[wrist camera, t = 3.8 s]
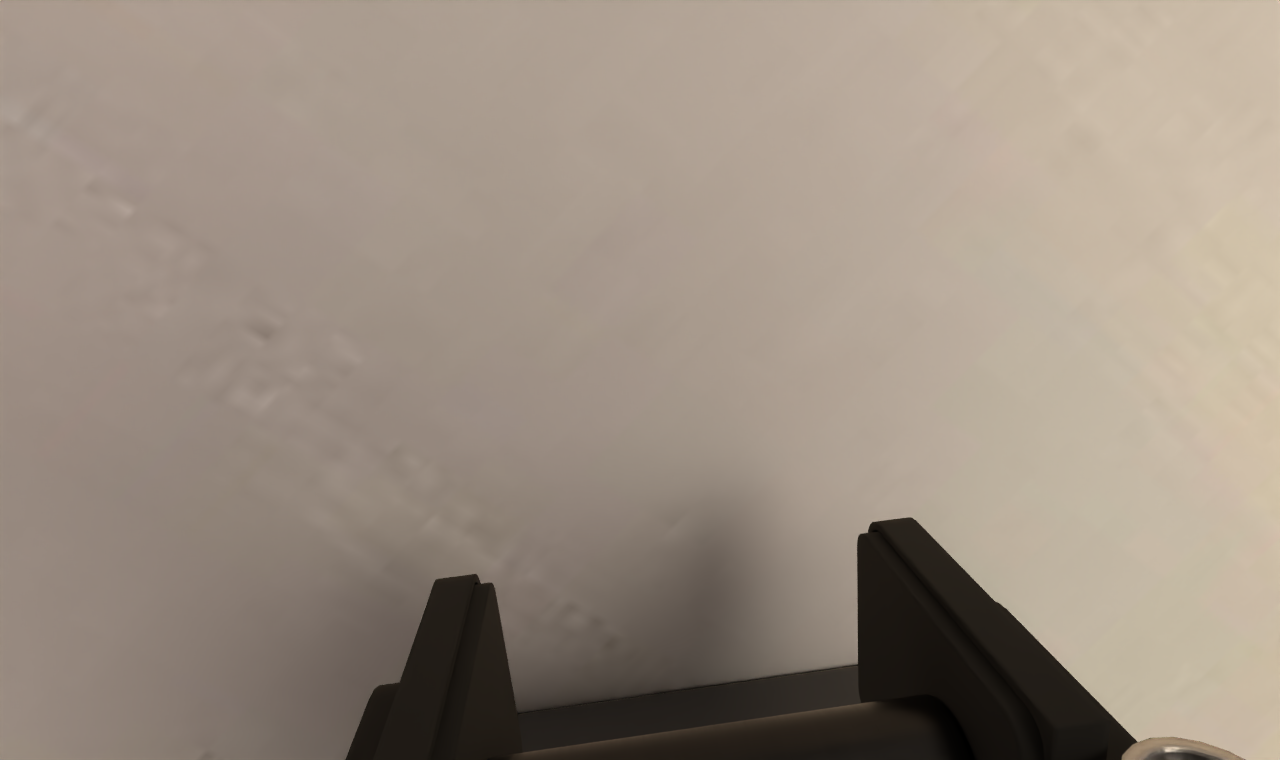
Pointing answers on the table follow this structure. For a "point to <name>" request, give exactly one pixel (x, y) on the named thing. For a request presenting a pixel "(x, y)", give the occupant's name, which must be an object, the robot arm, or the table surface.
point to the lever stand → (688, 708)
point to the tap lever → (796, 737)
